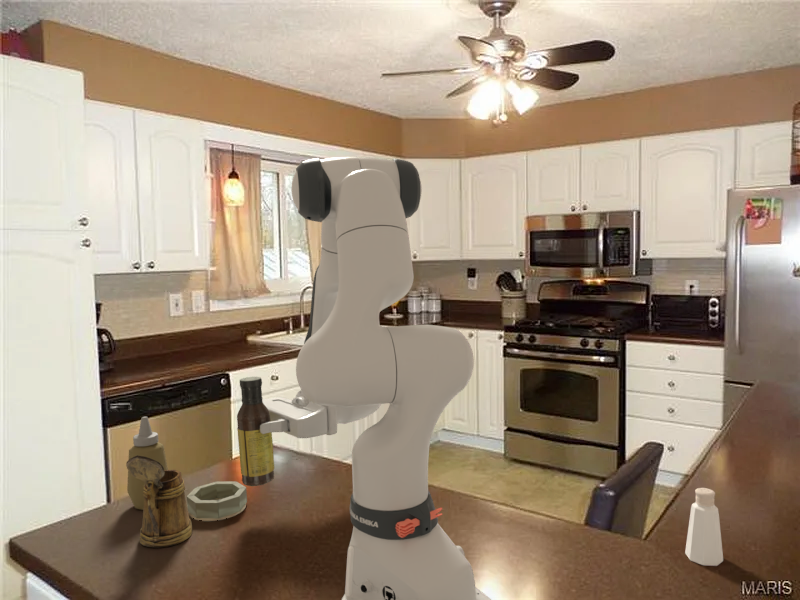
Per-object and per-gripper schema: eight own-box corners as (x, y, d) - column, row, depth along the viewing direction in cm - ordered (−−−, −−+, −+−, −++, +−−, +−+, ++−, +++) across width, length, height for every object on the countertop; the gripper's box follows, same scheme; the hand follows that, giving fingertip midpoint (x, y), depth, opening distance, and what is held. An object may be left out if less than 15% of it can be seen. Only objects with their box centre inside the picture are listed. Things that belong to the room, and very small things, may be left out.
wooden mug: (116, 562, 98) (109, 456, 97) (153, 525, 112) (147, 431, 110) (170, 562, 98) (163, 455, 96) (200, 524, 111) (195, 430, 110)
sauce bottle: (281, 477, 115) (276, 375, 114) (261, 489, 110) (255, 382, 108) (254, 473, 118) (248, 374, 116) (233, 484, 112) (227, 380, 111)
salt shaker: (703, 569, 91) (704, 499, 91) (677, 552, 97) (678, 486, 96) (731, 563, 93) (733, 494, 92) (704, 546, 98) (705, 481, 97)
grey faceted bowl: (255, 508, 117) (255, 491, 117) (202, 526, 110) (201, 508, 110) (231, 493, 125) (230, 477, 125) (180, 508, 118) (179, 491, 118)
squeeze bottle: (178, 496, 125) (173, 411, 123) (159, 513, 117) (153, 423, 115) (141, 495, 125) (136, 411, 124) (120, 512, 117) (113, 423, 116)
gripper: (285, 386, 129) (224, 399, 120) (340, 403, 114) (275, 418, 105) (286, 415, 130) (226, 429, 121) (341, 435, 114) (277, 453, 105)
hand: (249, 424), depth 112 cm, fingers closed on sauce bottle, 6 cm apart
